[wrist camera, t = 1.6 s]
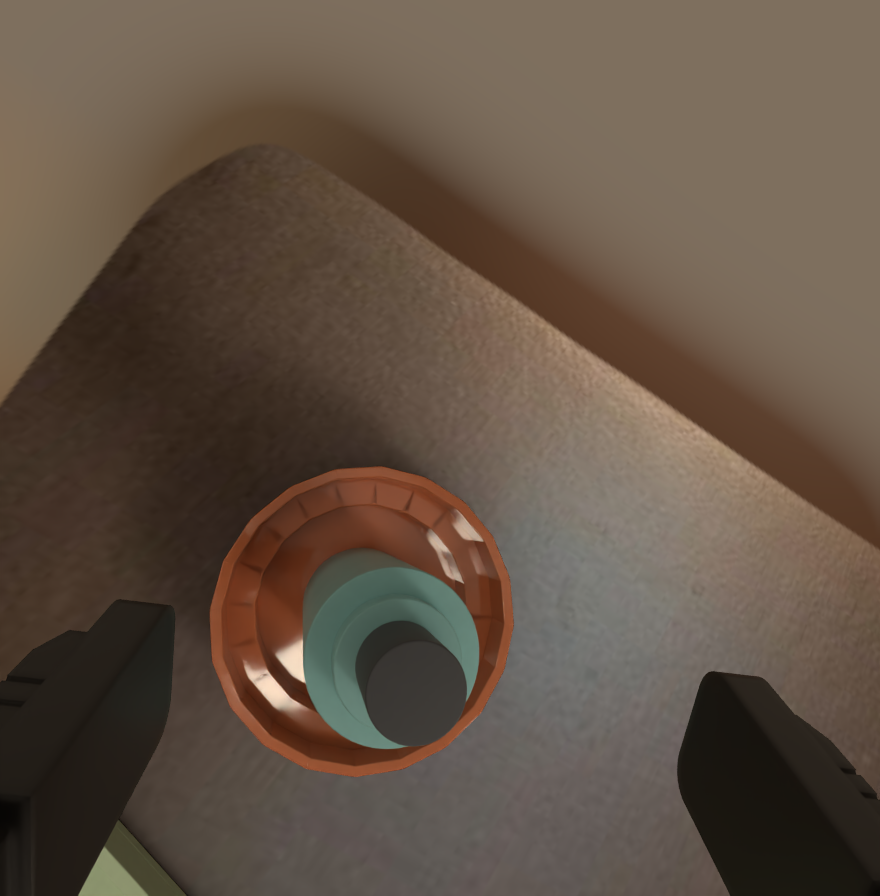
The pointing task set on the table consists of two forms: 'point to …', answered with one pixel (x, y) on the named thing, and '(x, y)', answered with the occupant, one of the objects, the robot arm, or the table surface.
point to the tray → (127, 870)
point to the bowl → (284, 583)
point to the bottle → (386, 650)
